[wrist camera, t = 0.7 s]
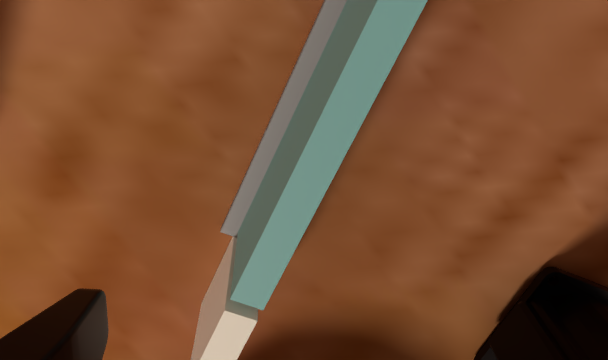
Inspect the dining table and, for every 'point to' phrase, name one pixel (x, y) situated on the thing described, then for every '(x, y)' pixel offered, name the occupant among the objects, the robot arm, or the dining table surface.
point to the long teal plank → (318, 140)
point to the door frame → (216, 304)
